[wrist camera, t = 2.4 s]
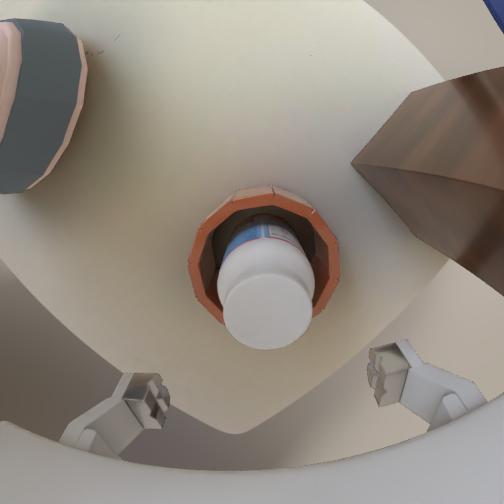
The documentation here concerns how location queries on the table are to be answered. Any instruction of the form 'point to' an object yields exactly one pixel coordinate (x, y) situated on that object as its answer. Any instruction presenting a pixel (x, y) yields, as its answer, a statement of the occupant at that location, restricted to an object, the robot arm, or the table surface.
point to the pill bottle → (265, 284)
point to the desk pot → (202, 253)
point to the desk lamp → (37, 98)
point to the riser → (447, 169)
